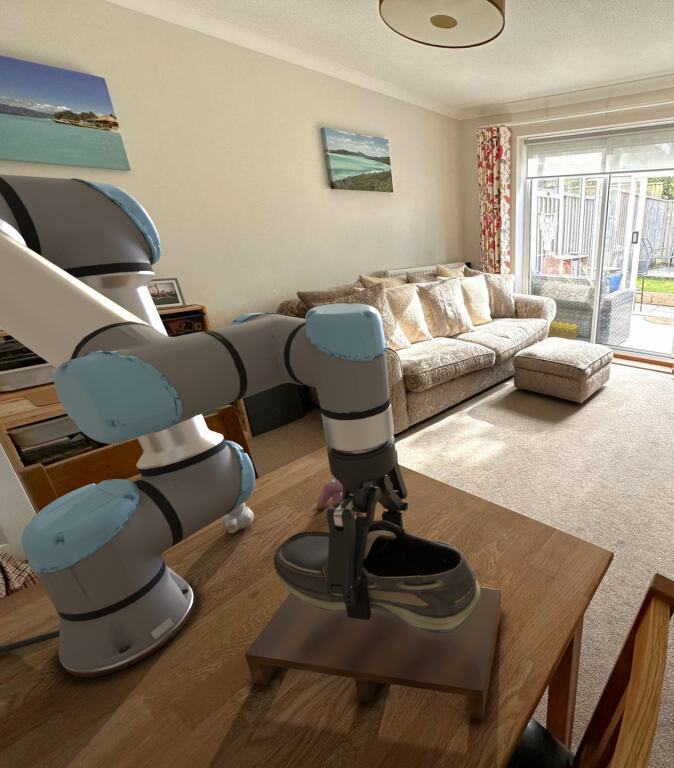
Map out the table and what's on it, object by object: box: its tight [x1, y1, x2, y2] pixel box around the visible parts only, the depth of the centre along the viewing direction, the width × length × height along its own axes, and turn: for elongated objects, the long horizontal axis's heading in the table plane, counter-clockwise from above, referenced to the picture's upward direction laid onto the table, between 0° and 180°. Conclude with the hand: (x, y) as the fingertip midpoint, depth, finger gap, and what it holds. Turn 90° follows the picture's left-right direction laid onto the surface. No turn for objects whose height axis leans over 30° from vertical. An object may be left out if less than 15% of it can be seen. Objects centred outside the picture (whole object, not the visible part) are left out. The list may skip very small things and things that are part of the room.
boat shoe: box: [273, 519, 481, 635], centre depth 54 cm, size 11×29×11 cm, turn 79°
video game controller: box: [316, 477, 358, 515], centre depth 89 cm, size 10×5×7 cm, turn 77°
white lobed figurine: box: [221, 502, 255, 534], centre depth 81 cm, size 5×7×8 cm
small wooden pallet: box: [244, 586, 502, 721], centre depth 59 cm, size 32×15×6 cm, turn 83°
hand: (379, 579), depth 55 cm, fingers closed on boat shoe, 11 cm apart
